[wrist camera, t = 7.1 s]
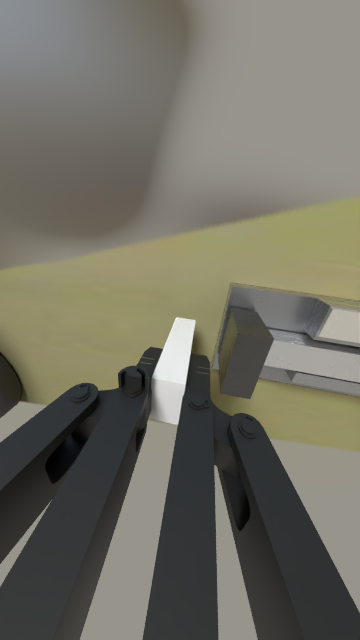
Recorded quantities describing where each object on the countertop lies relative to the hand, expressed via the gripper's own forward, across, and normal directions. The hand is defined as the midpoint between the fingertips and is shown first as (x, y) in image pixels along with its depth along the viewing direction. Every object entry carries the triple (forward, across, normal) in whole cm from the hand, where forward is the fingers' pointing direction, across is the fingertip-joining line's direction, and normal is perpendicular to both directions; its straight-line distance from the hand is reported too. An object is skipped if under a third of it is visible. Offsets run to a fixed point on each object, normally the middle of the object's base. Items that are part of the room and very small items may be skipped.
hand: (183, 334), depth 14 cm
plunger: (+1, +10, +1) cm, 10 cm away
